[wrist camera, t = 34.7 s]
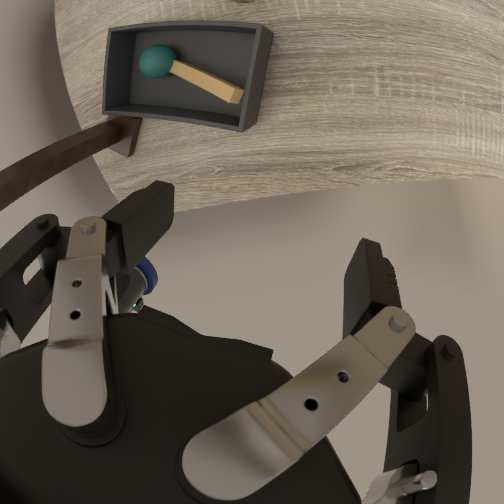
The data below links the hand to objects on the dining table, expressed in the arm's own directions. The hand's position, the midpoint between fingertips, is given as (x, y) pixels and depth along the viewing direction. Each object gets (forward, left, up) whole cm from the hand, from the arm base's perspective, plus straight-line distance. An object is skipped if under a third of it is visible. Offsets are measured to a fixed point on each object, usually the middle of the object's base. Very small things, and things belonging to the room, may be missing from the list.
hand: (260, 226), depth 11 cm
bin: (+5, +17, -28) cm, 33 cm away
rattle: (+4, +15, -25) cm, 30 cm away
